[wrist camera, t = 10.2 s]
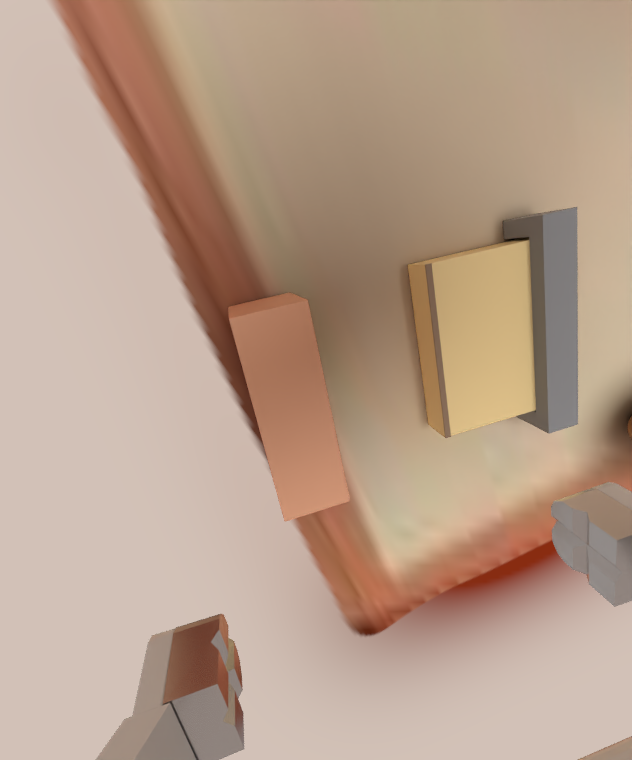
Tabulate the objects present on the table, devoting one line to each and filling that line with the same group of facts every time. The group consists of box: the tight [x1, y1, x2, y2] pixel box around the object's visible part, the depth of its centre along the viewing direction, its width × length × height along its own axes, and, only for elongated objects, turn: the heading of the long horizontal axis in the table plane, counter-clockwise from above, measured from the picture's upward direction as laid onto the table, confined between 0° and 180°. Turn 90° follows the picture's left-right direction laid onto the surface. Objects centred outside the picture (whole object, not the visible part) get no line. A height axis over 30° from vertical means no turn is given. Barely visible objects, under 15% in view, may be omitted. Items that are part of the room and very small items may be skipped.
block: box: [228, 292, 350, 521], centre depth 25 cm, size 4×12×6 cm, turn 12°
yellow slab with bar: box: [408, 207, 578, 438], centre depth 28 cm, size 10×15×4 cm
